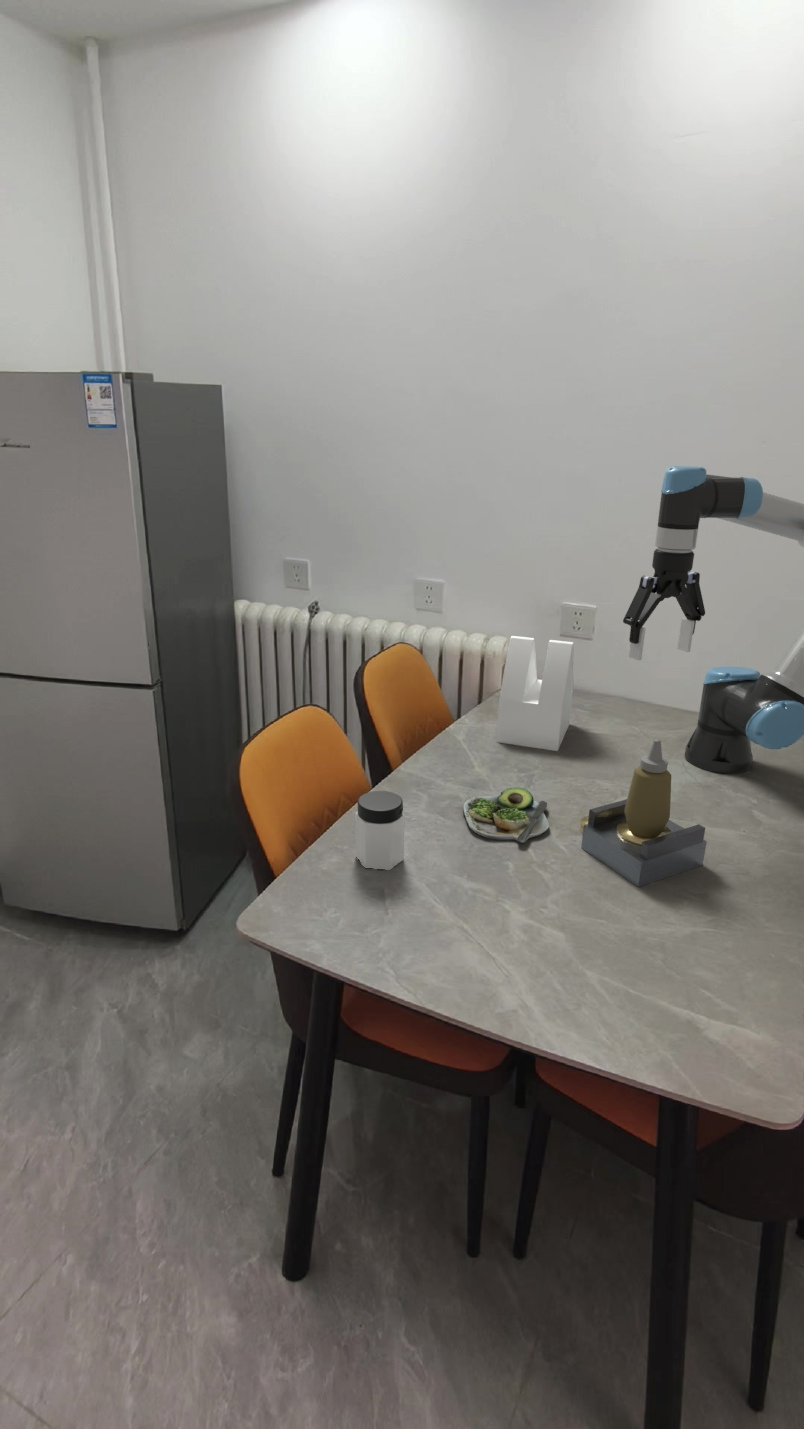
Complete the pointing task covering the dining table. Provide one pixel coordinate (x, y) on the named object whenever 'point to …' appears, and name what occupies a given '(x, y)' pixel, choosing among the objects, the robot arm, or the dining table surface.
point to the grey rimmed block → (641, 846)
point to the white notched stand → (535, 695)
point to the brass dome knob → (583, 823)
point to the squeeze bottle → (649, 795)
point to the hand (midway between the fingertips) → (659, 654)
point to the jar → (379, 830)
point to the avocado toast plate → (507, 815)
